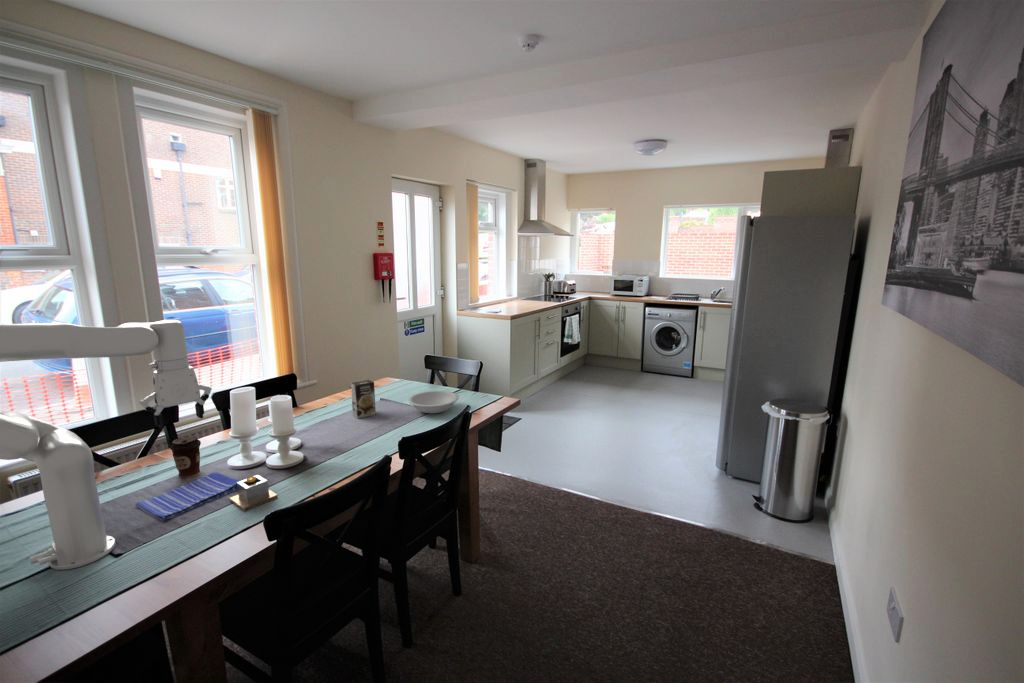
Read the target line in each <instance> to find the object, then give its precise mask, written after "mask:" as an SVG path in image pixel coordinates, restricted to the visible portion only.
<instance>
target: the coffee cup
mask: <svg viewBox="0 0 1024 683" xmlns="http://www.w3.org/2000/svg"><path fill="white" fill-rule="evenodd" d="M201 444H202V443H201V440H199V439H198V437H197V436H185V437H180V438H177V439H174V440H172V442H171V445H170V448H169V449H170V451H172V458H173V460H174V464H175V468H176V469H177V471H178V478H181V479H188V478H193V477H194V478H195V477H196V476H199V475H200V474H201V470H200V466H201V464H200V463H201V452H200V446H201Z"/></svg>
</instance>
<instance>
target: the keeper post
mask: <svg viewBox="0 0 1024 683" xmlns="http://www.w3.org/2000/svg"><path fill="white" fill-rule="evenodd" d="M246 479H247V483H248V486H250V485H252V484H255V483H256V477H253V476H249V477H248V478H246ZM275 499H278V494H277V493H276V492H274V491H272V490H270V489H269V495H268V496H266V497H263V498H261V499H259V500H256V501H254V502H251V503H249V504H248V503H246V502H245V501H243V500H242V499H240V498H239V496H238V494H236V495H234V496H230V497H229V502H230V503H232V504H233V505H235V506H236V507H237V508H239V509H240V510H241V511H243V512H247V511H249V510H252V509H254V508H256V507H258V506H260V505H264V504H265V503H267V502H268V503H269V502H271V501H273V500H275Z"/></svg>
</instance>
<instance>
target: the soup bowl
mask: <svg viewBox="0 0 1024 683" xmlns="http://www.w3.org/2000/svg"><path fill="white" fill-rule="evenodd" d="M459 399H460V398H459V394H457V393H455V392H453V391H448V390H447V391H446V390H427V391H421V392H418V393H414V394H412V395H411V396H409V397H408V398H407V401H408V403H409V404H411V405H412V406H413V407H414V408H415V410H417V411H419V412H422V413H425V414H438V413H443V412H446V411H448V410H450V408H451V407H453V405H454V404H455V403H456V402H457V401H458V400H459Z"/></svg>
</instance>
